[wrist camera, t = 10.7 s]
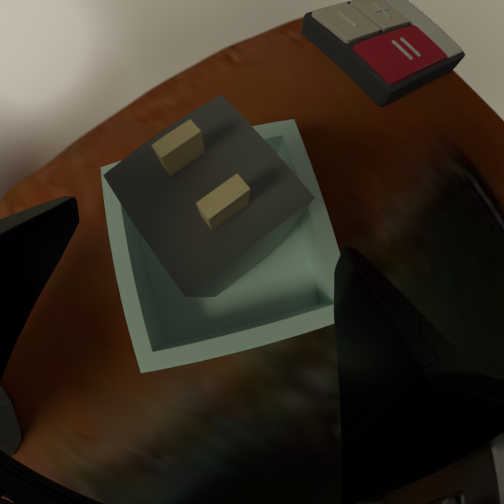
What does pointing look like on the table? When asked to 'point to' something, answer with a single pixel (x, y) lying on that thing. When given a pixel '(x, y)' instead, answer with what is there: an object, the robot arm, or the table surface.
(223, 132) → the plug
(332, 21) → the calculator
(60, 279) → the table surface
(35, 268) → the robot arm
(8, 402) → the coffeepot
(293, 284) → the walled box
